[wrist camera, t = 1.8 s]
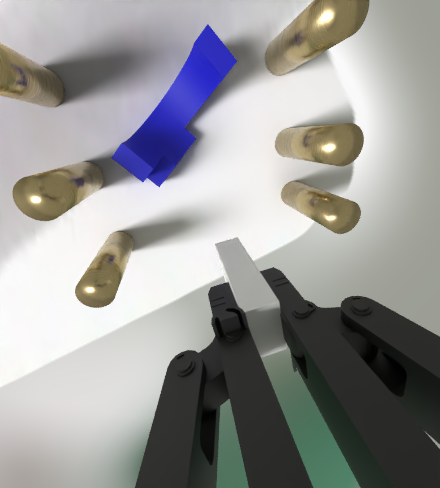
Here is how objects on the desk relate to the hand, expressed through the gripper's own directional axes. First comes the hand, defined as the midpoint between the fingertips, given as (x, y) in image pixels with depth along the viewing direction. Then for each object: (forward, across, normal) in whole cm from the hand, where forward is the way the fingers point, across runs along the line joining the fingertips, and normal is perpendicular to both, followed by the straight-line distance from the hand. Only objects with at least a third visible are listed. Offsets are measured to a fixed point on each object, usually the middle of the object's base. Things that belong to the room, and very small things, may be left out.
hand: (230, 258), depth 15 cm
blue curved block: (+14, 0, +9) cm, 17 cm away
